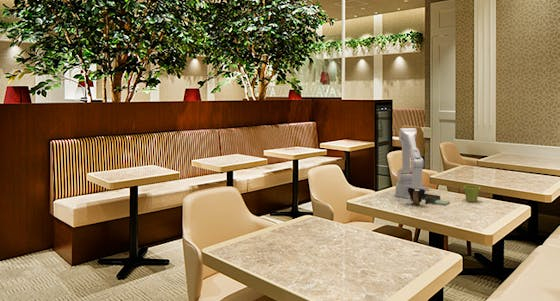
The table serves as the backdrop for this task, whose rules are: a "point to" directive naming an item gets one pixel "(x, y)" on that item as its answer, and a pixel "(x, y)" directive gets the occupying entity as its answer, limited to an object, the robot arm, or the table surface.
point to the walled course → (430, 198)
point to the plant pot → (471, 193)
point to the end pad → (441, 202)
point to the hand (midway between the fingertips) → (416, 201)
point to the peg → (416, 198)
